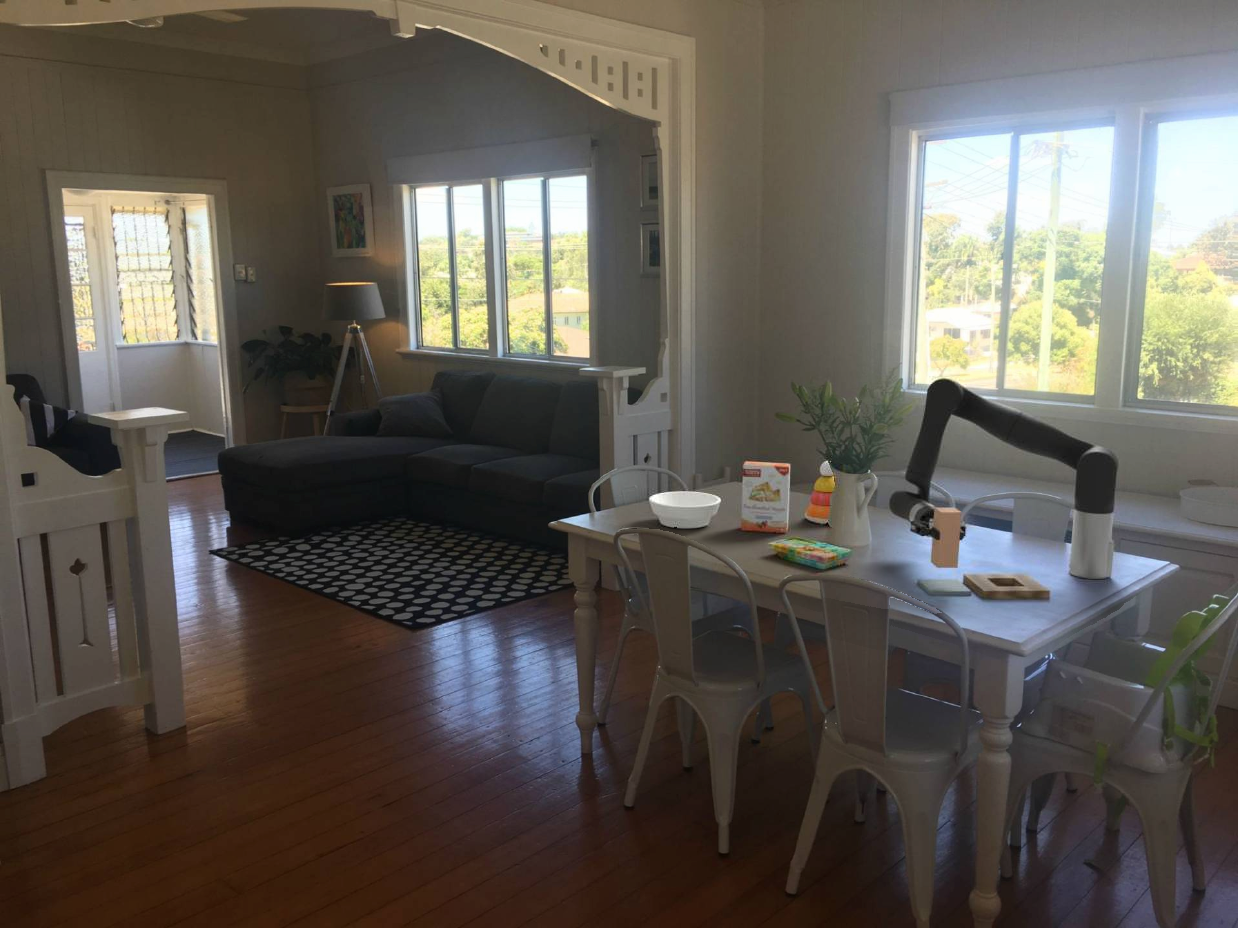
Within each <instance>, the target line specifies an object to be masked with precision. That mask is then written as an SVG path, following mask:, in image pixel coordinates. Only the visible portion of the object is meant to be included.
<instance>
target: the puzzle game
mask: <svg viewBox="0 0 1238 928" xmlns="http://www.w3.org/2000/svg"><path fill="white" fill-rule="evenodd" d="M766 548H767V549H768V550H770V551H773V552H776V553H777V556H778V557H779V559H784V560H786V561H791V562H794V563H798V564H802V565H805V566H809V567H812V568H816V569H820V570H826V569H830V567H831V568H834V567H837V566H836V565H838V566H841V565H844V564H843V563H846V562H847V561H848V560H849V559H850V558H851V557H852V555H853V553H852V550H851V549H848V548H846V547H845V548H844V547H840V546H836V545H833V544H832V545H831V544H828V543H827V542H819V541H816V540H811V539H806V538H804V537H803V538H802V537H798V536H791V537H788V538H784V539H778V540H775V541H772V542H767V543H766ZM840 564H841V565H840Z"/></svg>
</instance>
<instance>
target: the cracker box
mask: <svg viewBox="0 0 1238 928" xmlns="http://www.w3.org/2000/svg"><path fill="white" fill-rule="evenodd" d="M742 466H743V467H742V489H741V490H742V493H741V494H742V495H741V521H740V522H741V523H740V524H741V525H740V526H741V527H740V531H746V532H761V533H762V532H763V533H764V532H765V533H773V532H776V533H775V534H787V533H788V529H789V515H790V513H789V512H790V484H791V483H790V482H791V463H785V462H784V463H783V462H764V461H762V462H761V461H747V460H746V461H744V462H743V465H742Z"/></svg>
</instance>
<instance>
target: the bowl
mask: <svg viewBox="0 0 1238 928" xmlns="http://www.w3.org/2000/svg"><path fill="white" fill-rule="evenodd" d="M648 501H649V504H650V506H651V510H652V513H653V514H655V515H656V516H657V517H658V519H659V522H660V524H661V525H663V526H666V527H670V528H674V527H677V528H676V529H697V528H703V527H706V526H707V525H709V524H710V521H711V518H712V517H714V516H715V515H716V514H717V513H718V510H719V507H720V505H721V502H722V500H721V498H720V497H719V496H717V495H714V494H710V493H706V492H700V491H667V492H666V491H665V492H661V493H656V494H653V495H651V496H649V498H648Z"/></svg>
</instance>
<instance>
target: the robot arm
mask: <svg viewBox="0 0 1238 928" xmlns="http://www.w3.org/2000/svg"><path fill="white" fill-rule="evenodd" d="M952 416H955V417H957V418H960V419H963V420H965V421H968V422H970V423H972V424H974V425H976V426H977V427H979V428H980V429H981V430H983V431H985V432H986V433H988V434H990V436H992V437H995V438H996V439H997V440H1000V441H1002V442H1003V443H1006V444H1008V445H1010V446H1012V447H1014V448H1017V449H1019V450H1022V451H1024V452H1027V453H1029V454H1033V455H1037V456H1041V457H1045V458H1049V459H1052V460H1055V461H1057V462H1061V463H1062V464H1064V465H1066V466H1068V467H1070V468H1071V469H1073V470H1075V471H1076V473H1075V484H1074V485H1075V486H1074V487H1075V488H1074V510H1073V521H1072V533H1071V542H1070V543H1071V545H1070V555H1069V556H1070V557H1069V564H1068V565H1069V567H1068V573H1069V574H1070V575H1072V576H1074V577H1079V578H1084V579H1091V580H1099V579H1107V578H1111V577H1112V571H1113V561H1114V553H1115V552H1114V550H1115V541H1114V540H1113V539H1112V533H1113V522H1114V521H1113V520H1114V513H1115V512H1114V511H1115V500H1116V499H1115V498H1116V497H1115V495H1116V488H1117V487H1116V486H1117V477H1118V476H1117V473H1118V470H1119V461H1118V458H1117V456H1116V454H1114V452H1113V451H1112V450H1110V449H1108V448H1107V447H1104V446H1100V445H1097V444H1094V443H1091V442H1088V441H1086V440H1082V439H1080V438H1077V437H1074V436H1072V435H1070V434H1068V433H1066V432H1064V431H1062V430H1061V429H1058V428H1057V427H1055V426H1053V425H1051V424H1050V423H1047V422H1045V421H1043V420H1041V419H1039V418H1038V417H1036V416H1033V415H1031V414H1030V413H1027V412H1026V411H1025V412H1024V411H1022V410H1020V409H1017V408H1015V407H1013V406H1009V405H1007V404H1003V403H1000V402H996V401H993V400H990V399H987V398H985V397H983V396H981V395H979V394H977V393H976V392H975V391H974V392H973V391H972V390H970V389H968V388H967V387H965V386H964V385H962V384H961V383H959V382H958V381H956V380H953V379H952V378H945V377H942V378H938V379H936V380H934V381H933V382H932V383H930V384H929V386H928V388H927V390H926V397H925V406H924V412H923V417H922V421H921V425H920V429H919V432H918V435H917V439H916V442H915V445H914V447H913V450H912V453H911V456H910V459H909V463H908V465H907V469H906V471H905V474H904V479H905V481H906V482H908V483H910V484H912V485H913V486H915V487H916V488H917V489H916V490H917V493H915V492H910V491H909V490H903V489H899V490H896V491H894V492H893V493H892V494H890V497H889V500H888V505H889V509H890V511H891V513H892V514H893V515H894V516H896V517H899V518H901V519H902V520H903V519H904V520H906V521H908V522H909V523H910V527H909V528H910V530H909V531H910V532H912V533H914V534H916V535H918V536H921V537H927V538H934V539H936V540H940V531H938V530H937V529H936V528H934V526H933V523H934V509H935V507H936V506H935V505H933V504H932V503H930V492H931V483H932V479H933V476H934V473H935V470H936V466H937V464H938V460H939V455H940V453H941V446H942V441H943V436H944V434H945V430H946V428H947V425H948V423H949V420H950V418H951V417H952ZM966 534H967V525H966V523H965V521H963V520H961V529H960V539H959V540H960V541H963V539H964V538H965V537H966V536H967V535H966Z"/></svg>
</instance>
